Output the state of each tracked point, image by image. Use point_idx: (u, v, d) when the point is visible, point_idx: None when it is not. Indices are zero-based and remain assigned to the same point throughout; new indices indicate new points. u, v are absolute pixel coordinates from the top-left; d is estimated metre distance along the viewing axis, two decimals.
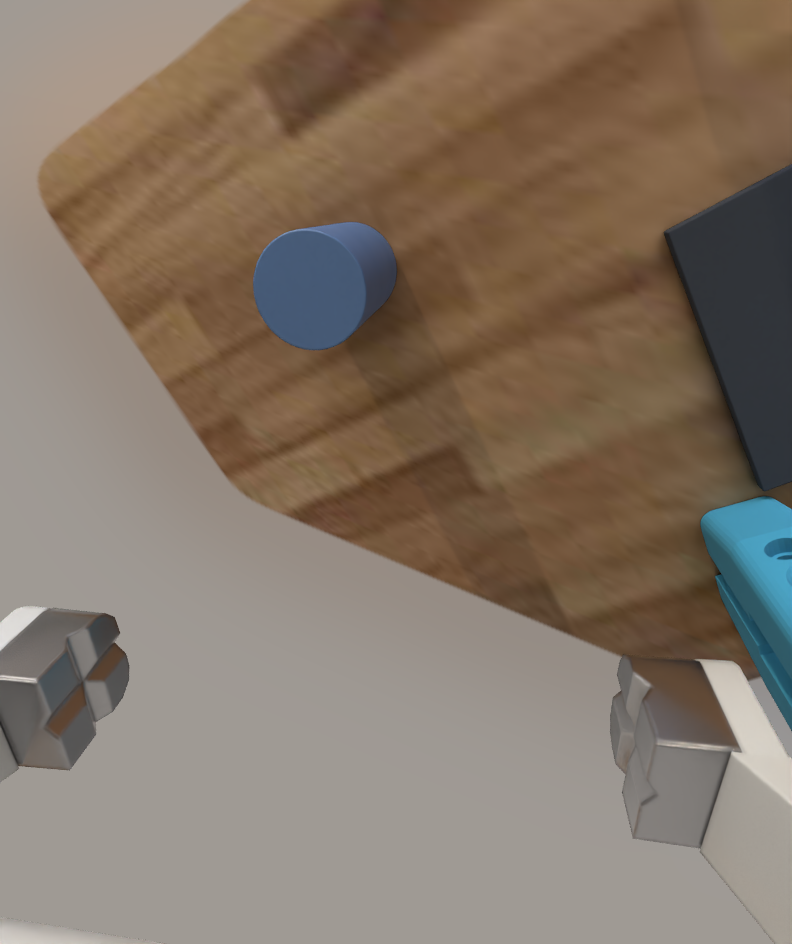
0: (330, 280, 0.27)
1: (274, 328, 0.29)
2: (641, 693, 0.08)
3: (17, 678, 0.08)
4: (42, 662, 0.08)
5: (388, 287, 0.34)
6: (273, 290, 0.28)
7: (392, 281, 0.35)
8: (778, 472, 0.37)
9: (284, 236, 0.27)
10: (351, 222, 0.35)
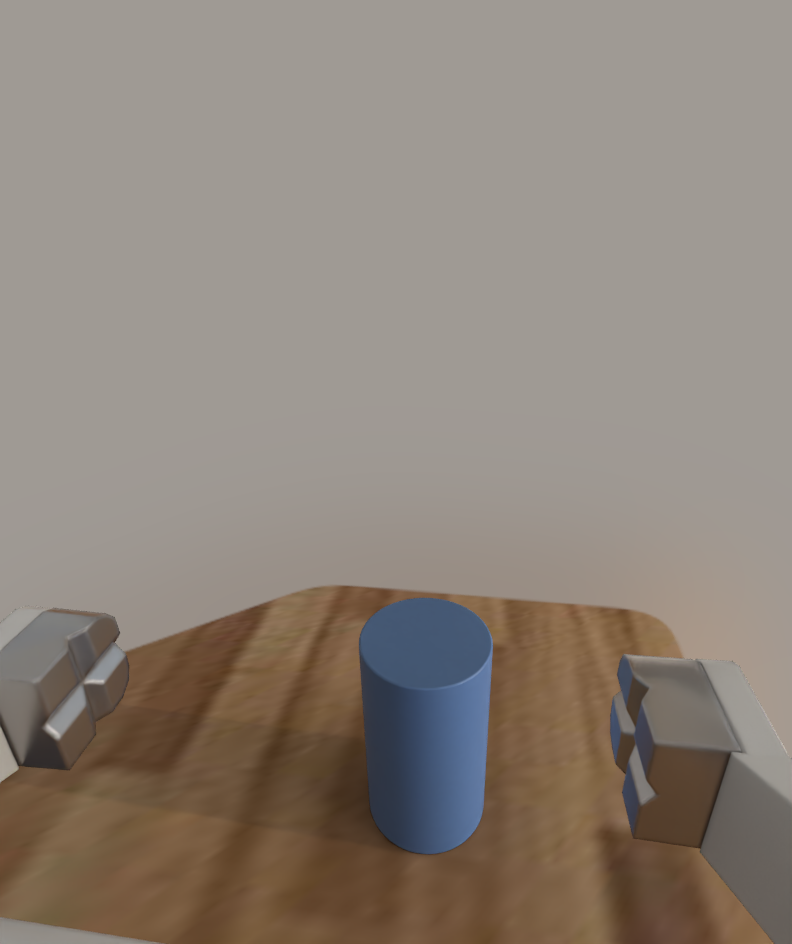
0: (421, 658, 0.23)
1: (417, 600, 0.27)
2: (641, 693, 0.08)
3: (17, 678, 0.08)
4: (42, 662, 0.08)
5: (379, 791, 0.26)
6: (449, 616, 0.25)
7: (382, 813, 0.26)
8: None
9: (489, 649, 0.24)
10: (474, 823, 0.27)
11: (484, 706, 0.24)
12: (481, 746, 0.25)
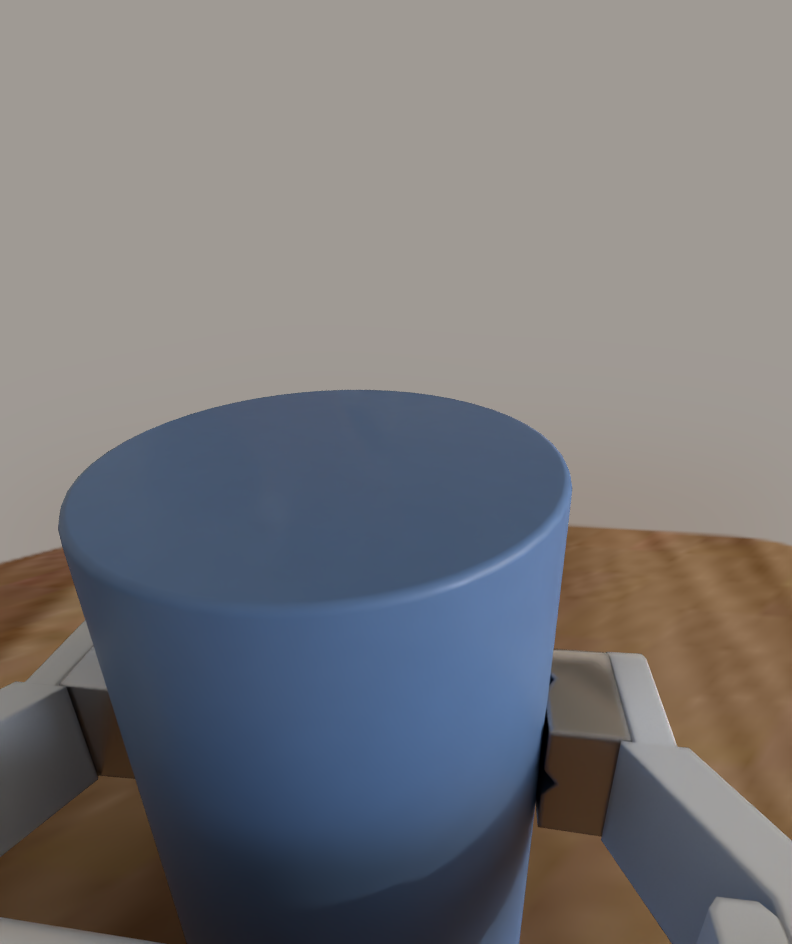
0: (289, 506, 0.06)
1: (327, 392, 0.09)
2: None
3: (104, 686, 0.08)
4: None
5: None
6: (418, 416, 0.08)
7: None
8: None
9: (560, 479, 0.06)
10: None
11: (539, 702, 0.06)
12: (522, 839, 0.07)
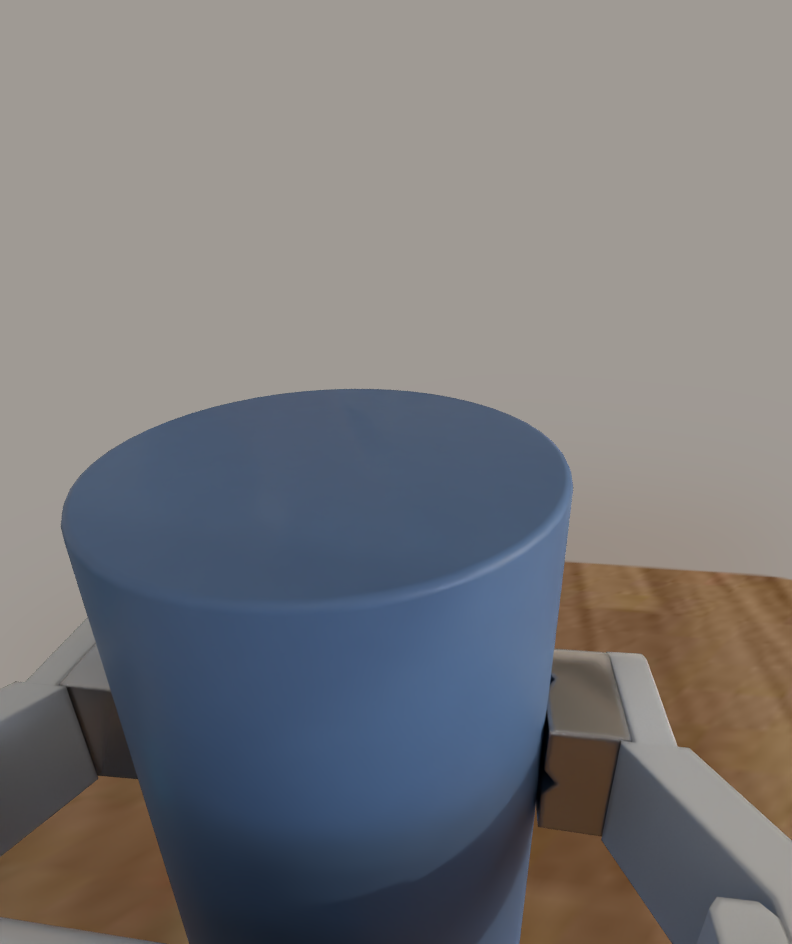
0: (291, 504, 0.06)
1: (329, 391, 0.09)
2: None
3: (103, 686, 0.08)
4: None
5: None
6: (419, 415, 0.08)
7: None
8: None
9: (561, 478, 0.06)
10: None
11: (540, 700, 0.06)
12: (522, 837, 0.07)
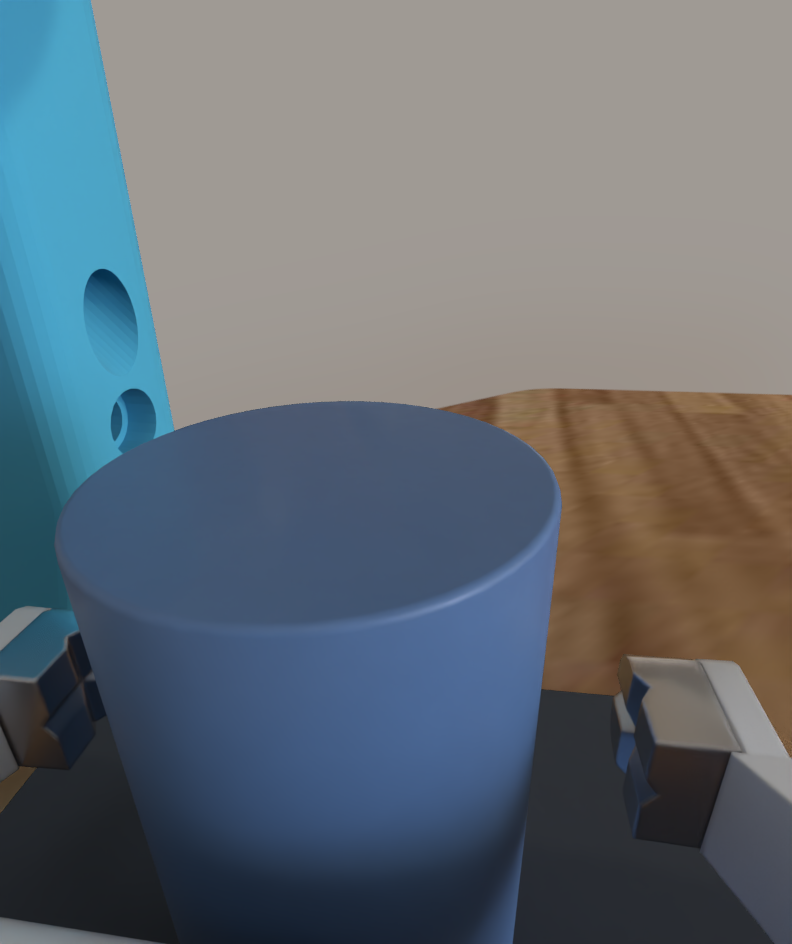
0: (283, 522, 0.06)
1: (323, 404, 0.09)
2: (641, 693, 0.08)
3: (17, 678, 0.08)
4: (42, 662, 0.08)
5: None
6: (412, 430, 0.08)
7: None
8: None
9: (550, 496, 0.06)
10: None
11: (529, 715, 0.06)
12: (512, 849, 0.07)
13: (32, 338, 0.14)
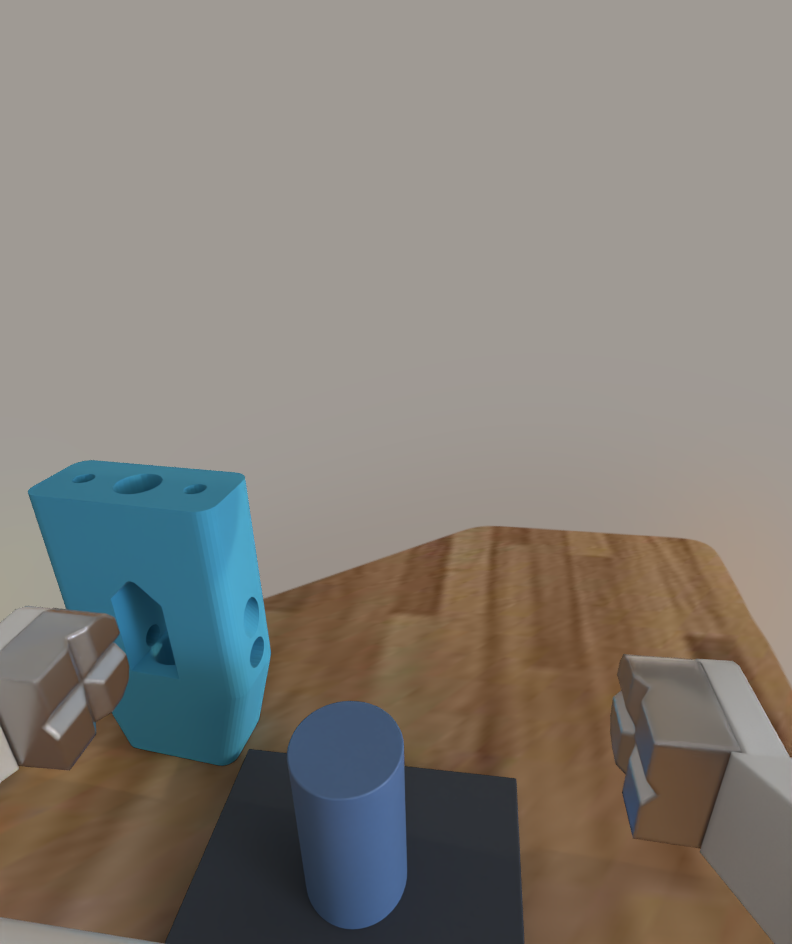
0: (339, 767, 0.27)
1: (345, 703, 0.30)
2: (641, 693, 0.08)
3: (17, 678, 0.08)
4: (42, 662, 0.08)
5: (308, 874, 0.29)
6: (370, 722, 0.29)
7: (312, 893, 0.30)
8: (257, 764, 0.38)
9: (398, 757, 0.27)
10: (394, 901, 0.30)
11: (395, 806, 0.27)
12: (395, 838, 0.28)
13: (228, 640, 0.35)
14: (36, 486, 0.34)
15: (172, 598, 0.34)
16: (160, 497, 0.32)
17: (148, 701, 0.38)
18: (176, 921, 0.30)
